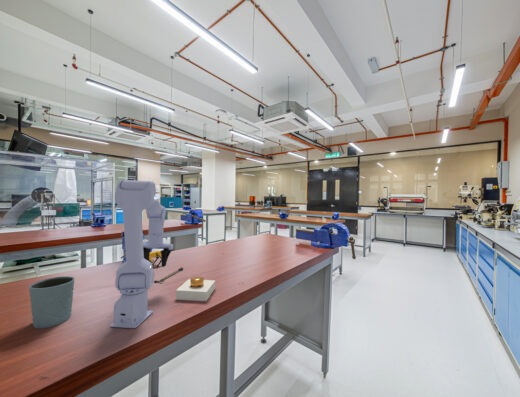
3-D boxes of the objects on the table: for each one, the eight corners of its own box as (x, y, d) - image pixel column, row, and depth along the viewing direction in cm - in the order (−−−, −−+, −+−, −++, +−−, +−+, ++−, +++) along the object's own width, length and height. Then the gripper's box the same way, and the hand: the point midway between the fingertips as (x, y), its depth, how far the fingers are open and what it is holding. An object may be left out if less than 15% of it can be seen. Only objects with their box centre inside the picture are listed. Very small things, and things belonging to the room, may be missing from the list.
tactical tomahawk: (165, 286, 98) (165, 284, 98) (153, 283, 99) (153, 281, 99) (191, 271, 118) (191, 269, 118) (180, 269, 120) (180, 267, 120)
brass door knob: (200, 296, 86) (201, 281, 86) (188, 296, 86) (188, 280, 86) (205, 291, 91) (205, 276, 91) (192, 290, 91) (193, 276, 91)
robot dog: (127, 272, 112) (128, 246, 112) (157, 263, 128) (158, 241, 129) (134, 274, 110) (135, 247, 110) (164, 265, 126) (165, 242, 126)
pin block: (206, 301, 82) (206, 292, 82) (175, 299, 83) (175, 290, 83) (215, 288, 94) (215, 280, 94) (188, 287, 95) (188, 279, 95)
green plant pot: (75, 320, 68) (77, 281, 68) (28, 335, 60) (29, 291, 60) (70, 309, 74) (71, 273, 74) (27, 320, 67) (28, 281, 67)
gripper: (176, 232, 96) (176, 263, 95) (145, 231, 97) (144, 262, 96) (169, 235, 89) (168, 268, 88) (134, 234, 90) (134, 267, 89)
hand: (155, 265), depth 92 cm, fingers open, 7 cm apart
